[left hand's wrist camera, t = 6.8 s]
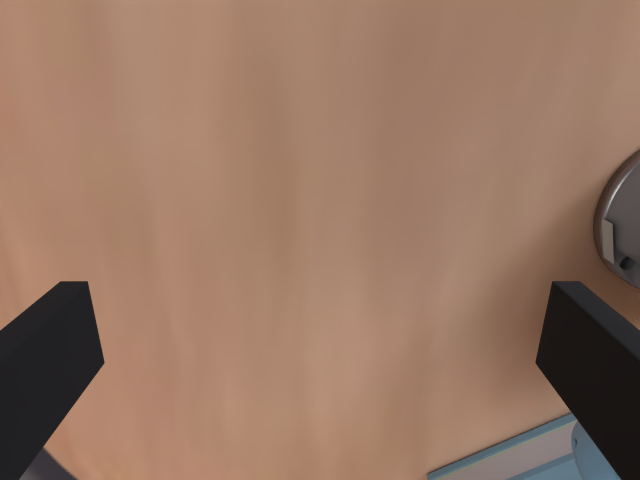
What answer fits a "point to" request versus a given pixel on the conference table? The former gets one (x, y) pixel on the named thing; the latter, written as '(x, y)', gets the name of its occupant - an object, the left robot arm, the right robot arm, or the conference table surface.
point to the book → (521, 457)
